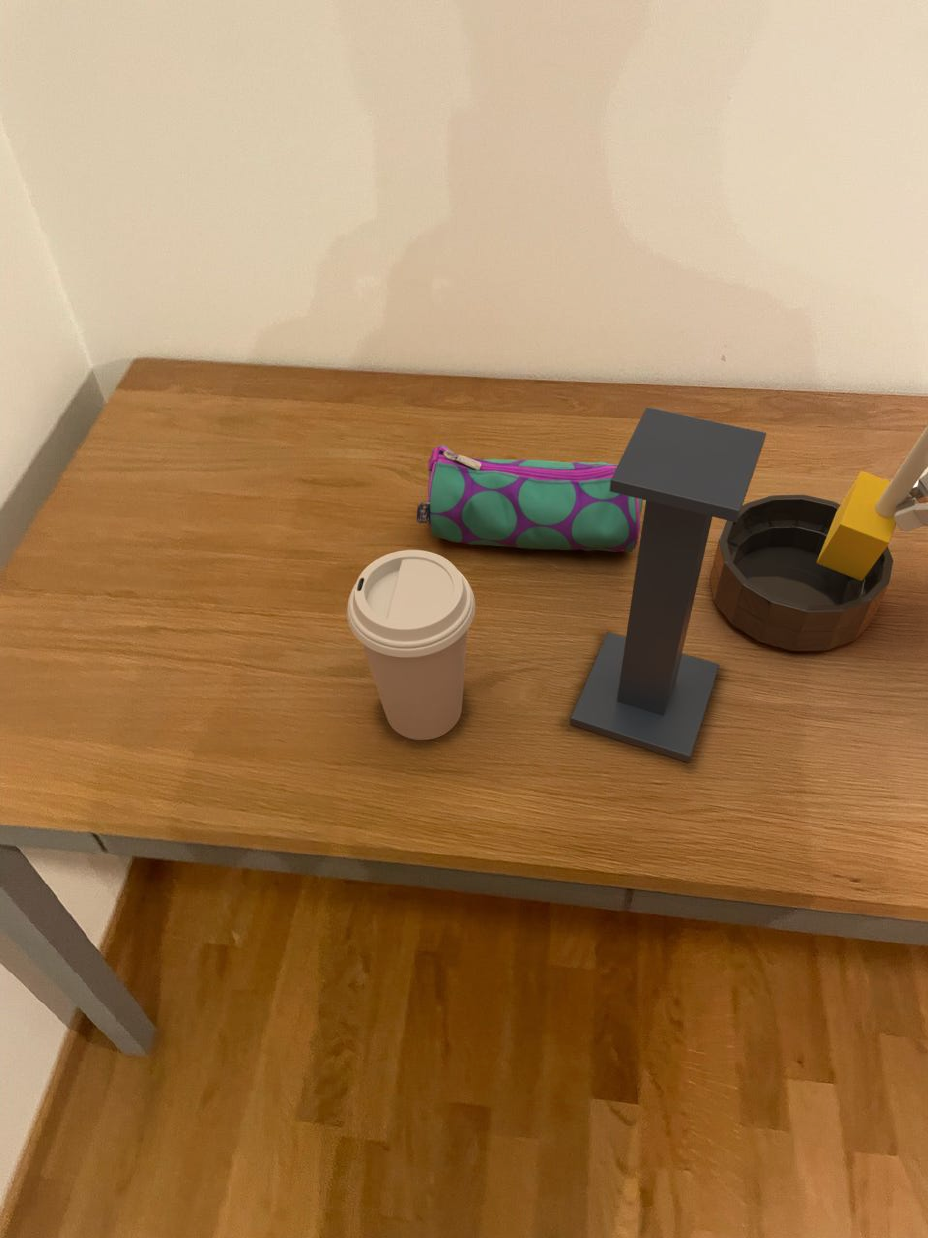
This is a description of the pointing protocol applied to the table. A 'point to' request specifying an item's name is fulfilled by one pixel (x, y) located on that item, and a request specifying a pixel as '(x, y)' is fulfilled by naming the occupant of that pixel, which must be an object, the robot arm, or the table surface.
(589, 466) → the pencil case
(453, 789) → the table surface
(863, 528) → the sponge wand
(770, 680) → the table surface
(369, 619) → the coffee cup
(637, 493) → the stand
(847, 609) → the bowl
